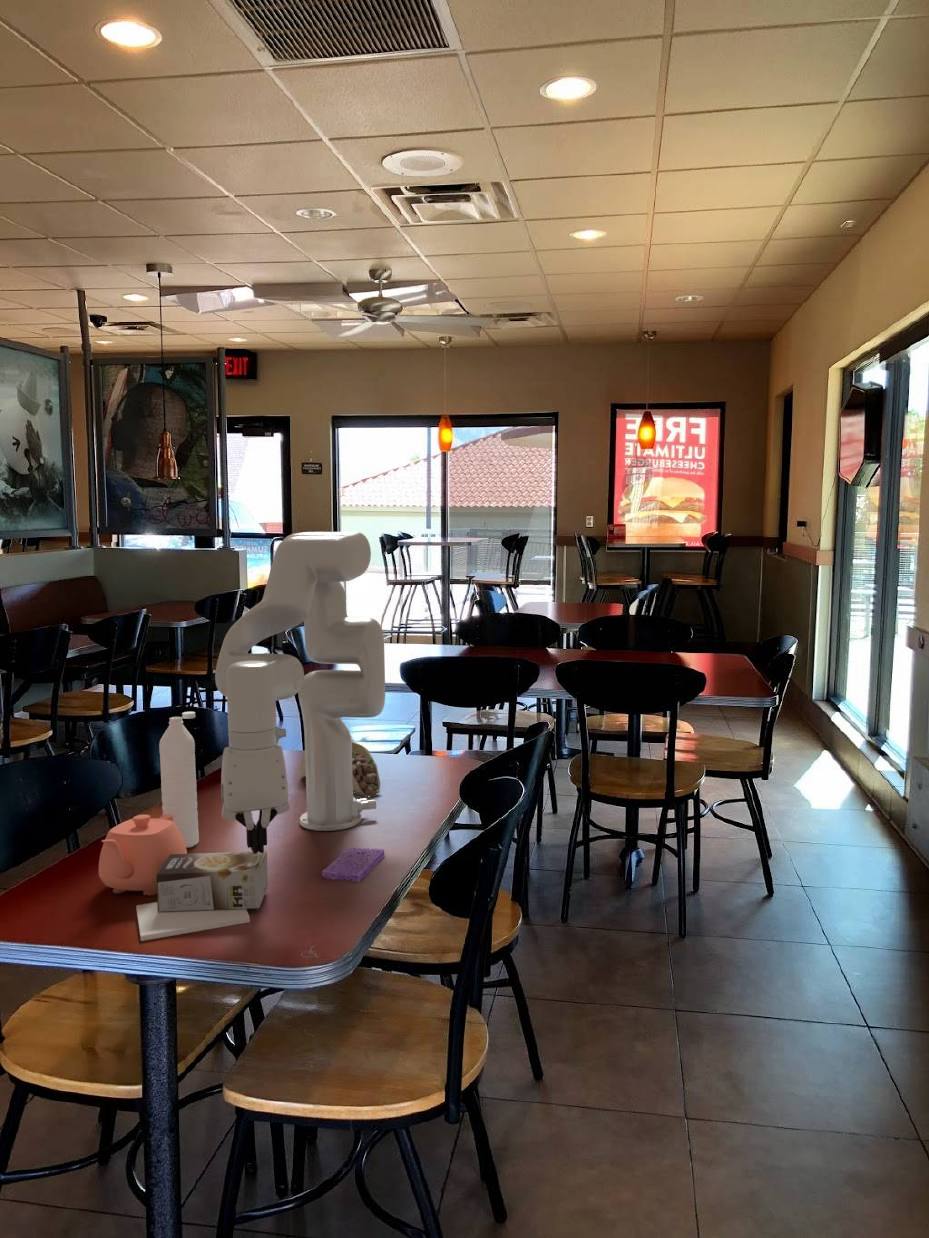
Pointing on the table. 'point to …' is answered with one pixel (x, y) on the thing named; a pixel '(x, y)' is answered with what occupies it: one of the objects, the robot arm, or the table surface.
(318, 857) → the table surface
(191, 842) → the water bottle
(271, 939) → the table surface
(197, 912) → the mat
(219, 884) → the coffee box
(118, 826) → the teapot
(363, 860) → the sponges
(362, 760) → the taco
